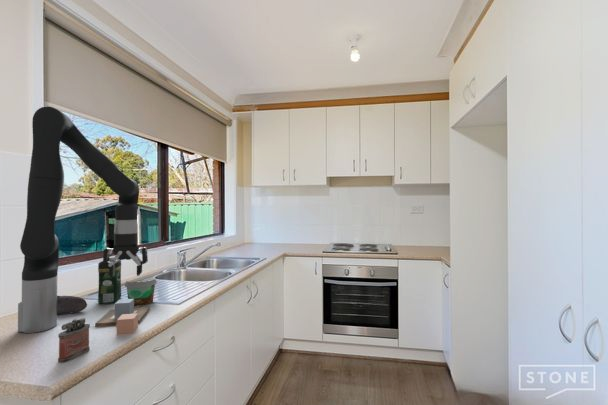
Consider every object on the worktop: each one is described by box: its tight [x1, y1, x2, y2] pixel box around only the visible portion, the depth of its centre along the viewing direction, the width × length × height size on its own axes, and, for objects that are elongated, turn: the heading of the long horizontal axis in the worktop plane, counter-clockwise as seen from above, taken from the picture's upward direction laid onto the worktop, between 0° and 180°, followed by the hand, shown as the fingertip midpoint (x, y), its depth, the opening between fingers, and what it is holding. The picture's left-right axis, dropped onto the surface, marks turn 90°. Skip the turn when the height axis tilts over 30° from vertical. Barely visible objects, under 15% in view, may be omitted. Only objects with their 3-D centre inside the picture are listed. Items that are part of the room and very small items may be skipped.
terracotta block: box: [116, 313, 139, 336], centre depth 102 cm, size 5×5×5 cm
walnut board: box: [94, 306, 151, 328], centre depth 114 cm, size 14×14×1 cm
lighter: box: [57, 317, 91, 364], centre depth 86 cm, size 8×3×10 cm, turn 163°
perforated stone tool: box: [57, 295, 88, 315], centre depth 118 cm, size 15×5×7 cm, turn 104°
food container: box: [124, 278, 158, 307], centre depth 128 cm, size 12×6×10 cm, turn 105°
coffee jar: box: [97, 257, 122, 305], centre depth 133 cm, size 10×8×19 cm
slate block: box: [114, 298, 135, 317], centre depth 114 cm, size 5×5×5 cm
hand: (125, 275), depth 112 cm, fingers open, 8 cm apart
